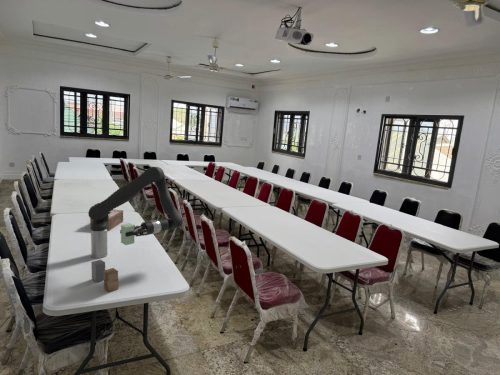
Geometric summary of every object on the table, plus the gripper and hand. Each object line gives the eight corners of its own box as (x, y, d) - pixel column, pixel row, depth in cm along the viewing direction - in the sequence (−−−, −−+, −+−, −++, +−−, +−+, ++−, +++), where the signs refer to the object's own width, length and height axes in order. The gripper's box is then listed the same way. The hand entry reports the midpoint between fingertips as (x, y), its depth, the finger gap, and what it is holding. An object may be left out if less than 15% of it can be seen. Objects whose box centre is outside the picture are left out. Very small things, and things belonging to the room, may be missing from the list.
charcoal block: (91, 279, 184) (91, 261, 182) (100, 276, 187) (100, 259, 185) (96, 282, 180) (95, 264, 178) (105, 279, 184) (105, 262, 182)
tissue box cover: (108, 231, 260) (108, 218, 259) (90, 229, 261) (90, 217, 259) (123, 221, 286) (123, 210, 284) (106, 220, 286) (106, 208, 284)
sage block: (121, 242, 185) (121, 225, 183) (129, 240, 189) (129, 223, 187) (125, 245, 182) (125, 227, 180) (134, 243, 186) (134, 225, 184)
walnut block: (104, 288, 175) (103, 270, 173) (113, 285, 178) (113, 267, 176) (108, 292, 171) (108, 273, 169) (118, 289, 175) (118, 271, 173)
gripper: (144, 218, 199) (116, 223, 186) (158, 224, 189) (130, 230, 177) (144, 230, 200) (116, 236, 187) (158, 237, 191) (130, 243, 178)
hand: (123, 233), depth 182 cm, fingers closed on sage block, 5 cm apart
